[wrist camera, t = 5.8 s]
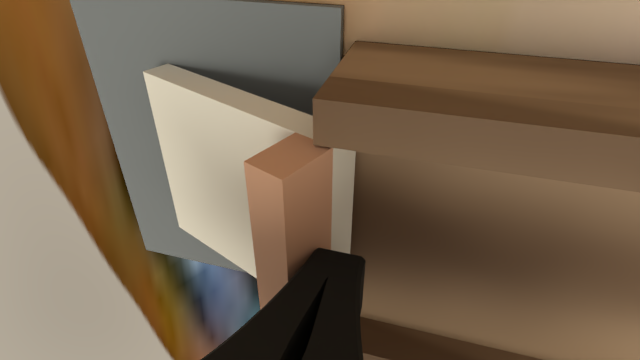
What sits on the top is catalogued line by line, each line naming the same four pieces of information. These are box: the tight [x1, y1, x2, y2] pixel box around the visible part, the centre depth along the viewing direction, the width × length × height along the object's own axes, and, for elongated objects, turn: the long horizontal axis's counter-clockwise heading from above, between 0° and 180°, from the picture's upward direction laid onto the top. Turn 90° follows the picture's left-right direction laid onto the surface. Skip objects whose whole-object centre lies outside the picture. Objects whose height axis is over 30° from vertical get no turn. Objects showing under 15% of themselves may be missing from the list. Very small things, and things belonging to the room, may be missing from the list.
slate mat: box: [70, 0, 344, 273], centre depth 17 cm, size 12×10×1 cm
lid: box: [143, 64, 356, 310], centre depth 14 cm, size 7×8×3 cm
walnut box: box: [313, 41, 640, 360], centre depth 13 cm, size 10×10×4 cm
